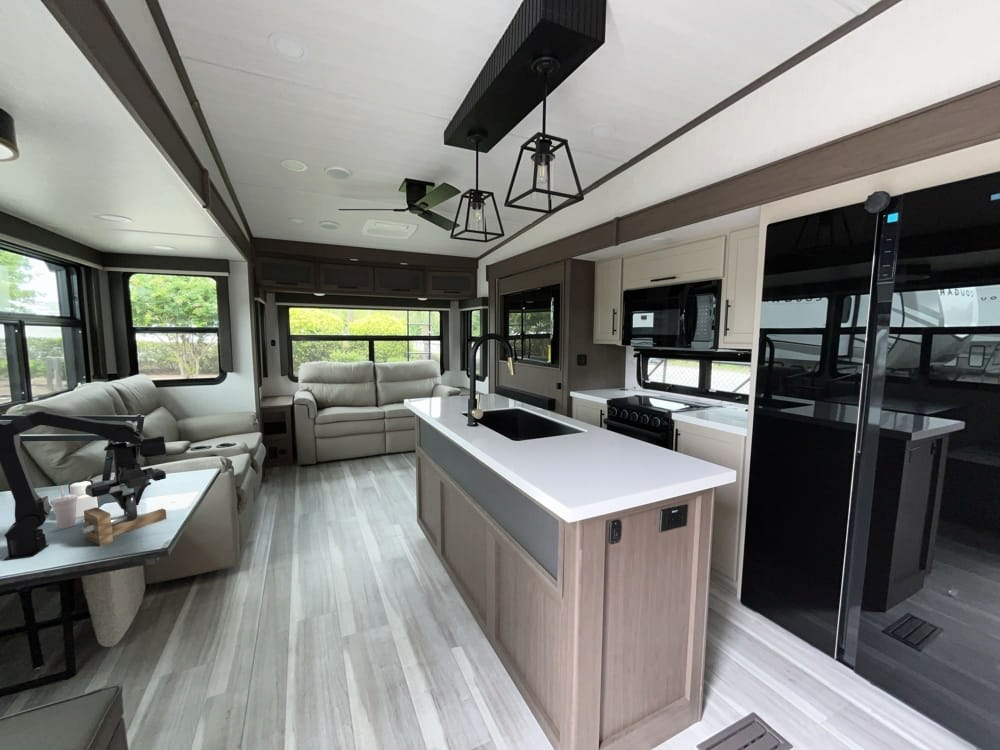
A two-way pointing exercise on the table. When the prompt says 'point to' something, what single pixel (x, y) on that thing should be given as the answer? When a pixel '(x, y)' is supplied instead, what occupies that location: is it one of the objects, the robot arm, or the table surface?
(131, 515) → the door handle
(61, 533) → the table surface
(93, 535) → the wooden mallet
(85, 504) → the medicine bottle
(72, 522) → the smoothie
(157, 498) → the table surface
